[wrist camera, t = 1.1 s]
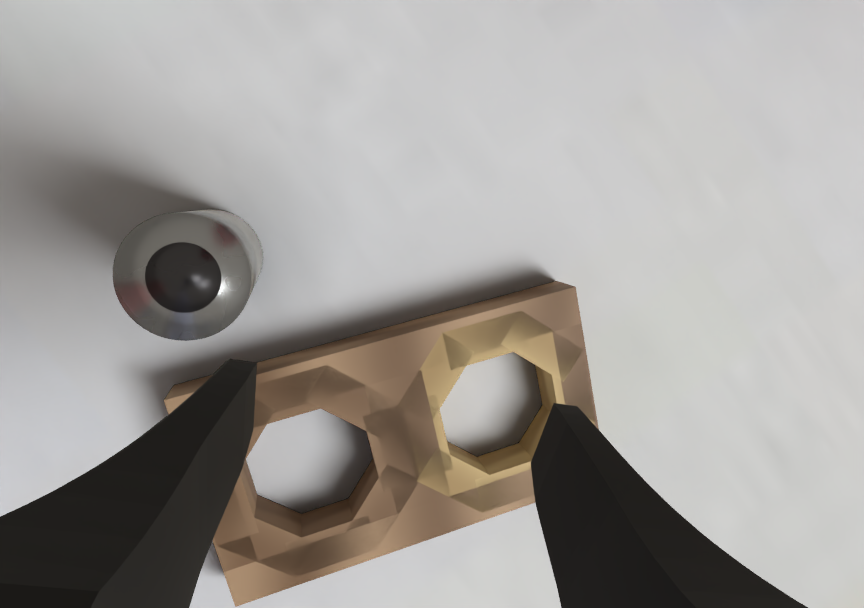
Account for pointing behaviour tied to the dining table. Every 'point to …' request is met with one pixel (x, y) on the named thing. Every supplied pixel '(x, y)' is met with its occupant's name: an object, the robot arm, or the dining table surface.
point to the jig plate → (398, 436)
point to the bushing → (187, 272)
